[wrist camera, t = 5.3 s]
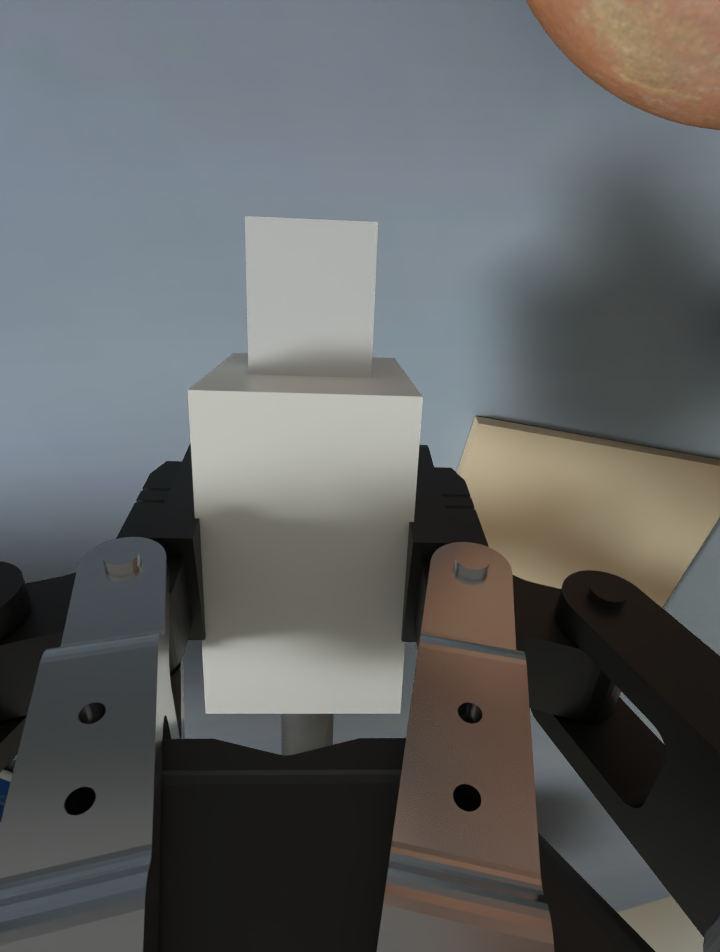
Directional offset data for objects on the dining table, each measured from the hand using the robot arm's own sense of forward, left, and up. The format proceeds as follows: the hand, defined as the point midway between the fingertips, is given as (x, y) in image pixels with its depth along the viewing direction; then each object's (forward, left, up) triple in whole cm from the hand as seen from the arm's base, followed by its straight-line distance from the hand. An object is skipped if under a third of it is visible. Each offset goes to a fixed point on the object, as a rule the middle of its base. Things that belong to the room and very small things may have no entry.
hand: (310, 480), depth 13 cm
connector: (-1, 0, -1) cm, 1 cm away
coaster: (-5, -13, -9) cm, 16 cm away
